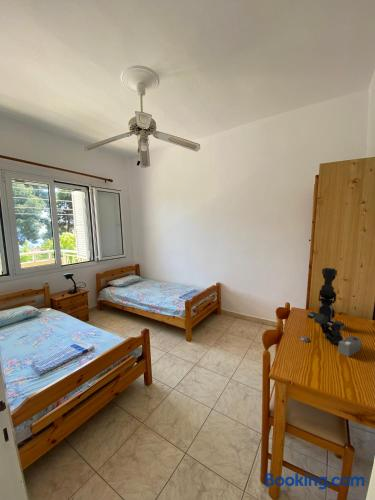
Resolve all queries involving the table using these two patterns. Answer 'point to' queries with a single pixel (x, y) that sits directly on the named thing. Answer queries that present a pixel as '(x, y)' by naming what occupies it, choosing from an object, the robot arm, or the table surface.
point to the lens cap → (304, 339)
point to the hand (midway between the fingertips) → (324, 333)
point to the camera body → (349, 345)
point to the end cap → (333, 335)
